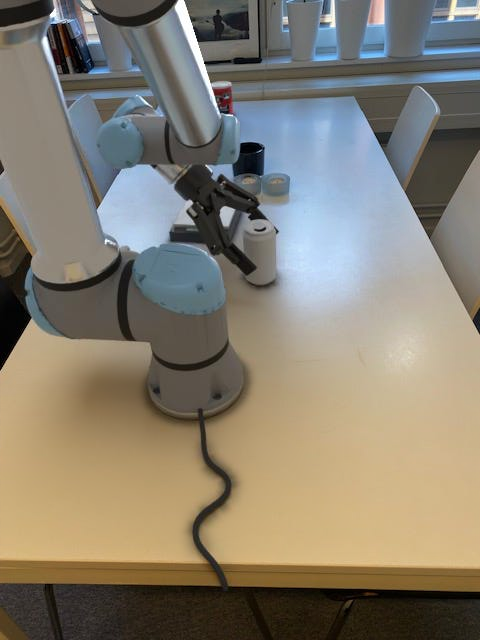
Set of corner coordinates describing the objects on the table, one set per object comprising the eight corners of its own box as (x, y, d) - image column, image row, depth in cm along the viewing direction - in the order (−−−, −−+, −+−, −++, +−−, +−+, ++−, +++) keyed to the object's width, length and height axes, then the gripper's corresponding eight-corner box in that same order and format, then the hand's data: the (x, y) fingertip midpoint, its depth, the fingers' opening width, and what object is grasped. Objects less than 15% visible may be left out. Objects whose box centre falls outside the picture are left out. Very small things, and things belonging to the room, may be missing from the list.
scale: (229, 244, 111) (228, 231, 109) (170, 241, 114) (168, 228, 112) (241, 212, 123) (240, 200, 121) (187, 210, 125) (185, 198, 123)
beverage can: (250, 289, 98) (247, 237, 90) (241, 272, 102) (238, 221, 95) (280, 283, 99) (280, 230, 91) (270, 266, 103) (269, 215, 96)
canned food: (209, 118, 179) (206, 86, 172) (216, 111, 185) (214, 80, 178) (229, 119, 177) (227, 87, 170) (235, 112, 183) (234, 81, 176)
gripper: (201, 158, 103) (270, 231, 108) (142, 214, 85) (228, 298, 90) (222, 135, 98) (294, 212, 103) (165, 189, 80) (254, 279, 85)
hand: (263, 253), depth 96 cm, fingers open, 13 cm apart
